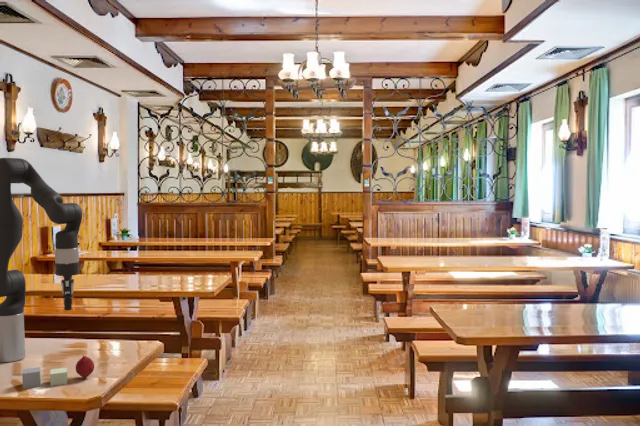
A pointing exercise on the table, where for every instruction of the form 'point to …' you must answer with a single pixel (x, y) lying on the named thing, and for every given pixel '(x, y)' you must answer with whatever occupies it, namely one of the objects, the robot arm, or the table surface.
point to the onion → (84, 366)
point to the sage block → (58, 376)
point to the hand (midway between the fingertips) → (68, 307)
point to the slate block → (31, 377)
